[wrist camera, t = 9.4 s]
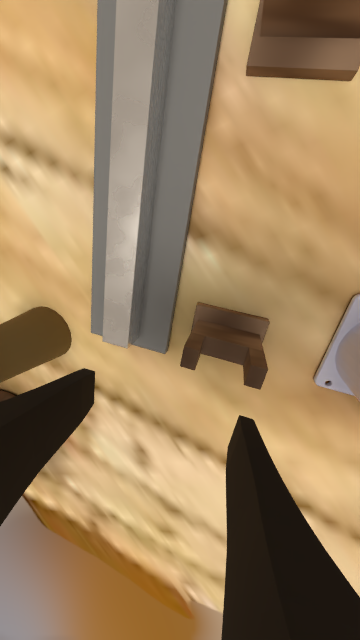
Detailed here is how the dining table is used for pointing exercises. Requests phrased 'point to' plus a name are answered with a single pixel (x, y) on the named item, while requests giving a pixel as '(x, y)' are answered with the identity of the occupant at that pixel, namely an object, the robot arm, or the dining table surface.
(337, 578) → the robot arm
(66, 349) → the cork
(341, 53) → the cradle rack
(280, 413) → the dining table surface
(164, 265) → the long grey plate
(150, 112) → the steel rail
